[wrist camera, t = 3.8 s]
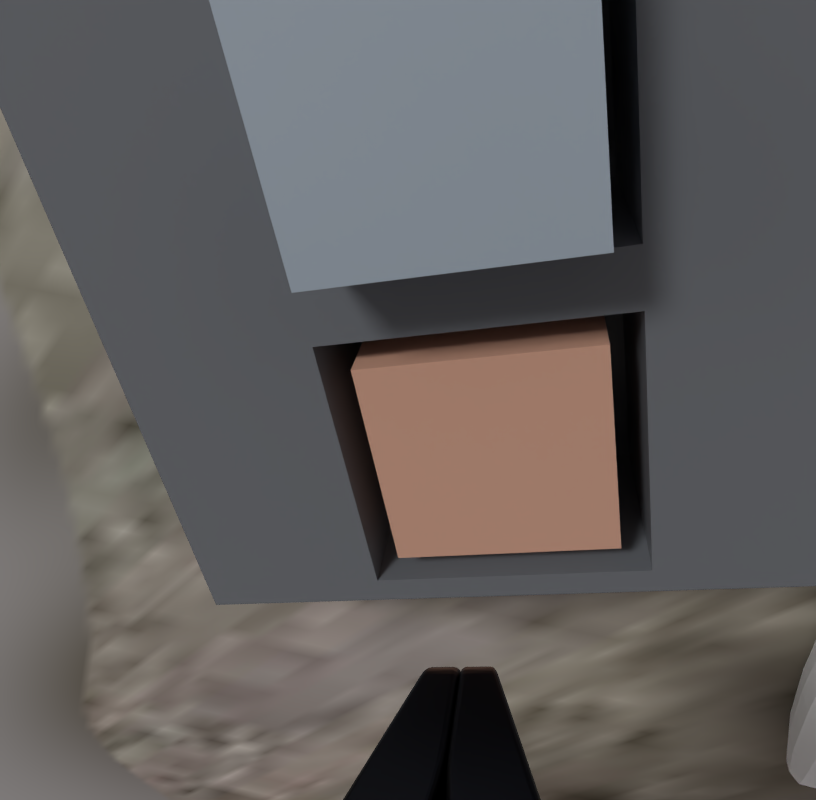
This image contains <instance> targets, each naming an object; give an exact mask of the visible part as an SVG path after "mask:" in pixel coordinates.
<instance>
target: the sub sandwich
mask: <svg viewBox="0 0 816 800" xmlns="http://www.w3.org/2000/svg"><path fill="white" fill-rule="evenodd" d="M786 761H787V765H788V769H789V772H790V773H791V775H792V776H793V777H794V778H795V780H796V781H797V782H798V784H801V785H805V786H808V787H812V788H816V641H815V643H814V646H813V648H812V650H811V652H810V655H809V657H808V659H807V661H806V664H805V666H804V668H803V671H802V675H801V678H800V681H799V685H798V688H797V692H796V695H795V698H794V702H793V705H792V709H791V712H790V722H789V733H788V744H787V757H786Z"/></svg>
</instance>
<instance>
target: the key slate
mask: <svg viewBox="0 0 816 800" xmlns="http://www.w3.org/2000/svg"><path fill="white" fill-rule="evenodd" d="M209 2H210V6H211V9H212V13H213V16H214V20H215V23H216V27H217V31H218V34H219V38H220V41H221V45H222V48H223V52H224V55H225V59H226V62H227V66H228V69H229V73H230V77H231V80H232V84H233V87H234V91H235V94H236V98H237V101H238V105H239V108H240V112H241V115H242V119H243V123H244V126H245V130H246V133H247V137H248V140H249V144H250V147H251V151H252V154H253V158H254V161H255V165H256V169H257V172H258V176H259V179H260V183H261V186H262V190H263V193H264V197H265V200H266V204H267V208H268V211H269V215H270V218H271V222H272V225H273V229H274V232H275V236H276V239H277V243H278V246H279V250H280V254H281V257H282V261H283V264H284V268H285V271H286V275H287V278H288V282H289V285H290V289H291V292H292V293H295V292H303V291H311V290H319V289H327V288H335V287H343V286H351V285H359V284H367V283H375V282H383V281H391V280H399V279H407V278H415V277H423V276H431V275H439V274H447V273H455V272H463V271H471V270H479V269H487V268H495V267H503V266H511V265H519V264H527V263H535V262H543V261H551V260H559V259H567V258H575V257H583V256H590V255H598V254H606V253H614V245H613V225H612V205H611V184H610V164H609V144H608V123H607V103H606V83H605V62H604V42H603V22H602V1H601V0H209Z"/></svg>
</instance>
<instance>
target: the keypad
mask: <svg viewBox="0 0 816 800" xmlns="http://www.w3.org/2000/svg"><path fill="white" fill-rule="evenodd" d="M601 1H602V22H603V42H604V62H605V83H606V103H607V123H608V144H609V164H610V184H611V205H612V225H613V245H614V253H606V254H598V255H590V256H583V257H575V258H567V259H559V260H551V261H543V262H535V263H527V264H519V265H511V266H503V267H495V268H487V269H479V270H471V271H463V272H455V273H447V274H439V275H431V276H423V277H415V278H407V279H399V280H391V281H383V282H375V283H367V284H359V285H351V286H343V287H335V288H327V289H319V290H311V291H303V292H295V293H292V292H291V289H290V285H289V282H288V278H287V275H286V271H285V268H284V264H283V261H282V257H281V254H280V250H279V246H278V243H277V239H276V236H275V232H274V229H273V225H272V222H271V218H270V215H269V211H268V208H267V204H266V200H265V197H264V193H263V190H262V186H261V183H260V179H259V176H258V172H257V169H256V165H255V161H254V158H253V154H252V151H251V147H250V144H249V140H248V137H247V133H246V130H245V126H244V123H243V119H242V115H241V112H240V108H239V105H238V101H237V98H236V94H235V91H234V87H233V84H232V80H231V77H230V73H229V69H228V66H227V62H226V59H225V55H224V52H223V48H222V45H221V41H220V38H219V34H218V31H217V27H216V23H215V20H214V16H213V13H212V9H211V6H210V2H209V0H0V108H1V110H2V113H3V115H4V117H5V120H6V122H7V124H8V127H9V129H10V131H11V133H12V136H13V138H14V140H15V143H16V145H17V147H18V150H19V152H20V154H21V156H22V159H23V161H24V163H25V166H26V168H27V170H28V173H29V175H30V177H31V179H32V182H33V184H34V186H35V189H36V191H37V193H38V196H39V198H40V200H41V203H42V205H43V207H44V209H45V212H46V214H47V216H48V219H49V221H50V223H51V226H52V228H53V230H54V232H55V235H56V237H57V239H58V242H59V244H60V246H61V249H62V251H63V253H64V255H65V258H66V260H67V262H68V265H69V267H70V269H71V272H72V274H73V276H74V279H75V281H76V283H77V285H78V288H79V290H80V292H81V295H82V297H83V299H84V302H85V304H86V306H87V308H88V311H89V313H90V315H91V318H92V320H93V322H94V325H95V327H96V329H97V332H98V334H99V336H100V338H101V341H102V343H103V345H104V348H105V350H106V352H107V355H108V357H109V359H110V361H111V364H112V366H113V368H114V371H115V373H116V375H117V378H118V380H119V382H120V384H121V387H122V389H123V391H124V394H125V396H126V398H127V401H128V403H129V405H130V408H131V410H132V412H133V414H134V417H135V419H136V421H137V424H138V426H139V428H140V431H141V433H142V435H143V437H144V440H145V442H146V444H147V447H148V449H149V451H150V454H151V456H152V458H153V460H154V463H155V465H156V467H157V470H158V472H159V474H160V477H161V479H162V481H163V484H164V486H165V488H166V490H167V493H168V495H169V497H170V500H171V502H172V504H173V507H174V509H175V511H176V513H177V516H178V518H179V520H180V523H181V525H182V527H183V530H184V532H185V534H186V536H187V539H188V541H189V543H190V546H191V548H192V550H193V553H194V555H195V557H196V560H197V562H198V564H199V566H200V569H201V571H202V573H203V576H204V578H205V580H206V583H207V585H208V587H209V589H210V592H211V594H212V596H213V599H214V601H215V603H216V605H224V604H256V603H288V602H320V601H352V600H384V599H416V598H448V597H480V596H512V595H544V594H576V593H608V592H640V591H672V590H704V589H736V588H768V587H800V586H816V0H601ZM595 316H604V317H605V322H606V327H607V332H608V337H609V342H610V353H611V371H612V389H613V407H614V425H615V443H616V461H617V479H618V497H619V515H620V533H621V548H619V549H596V550H573V551H550V552H527V553H504V554H481V555H457V556H434V557H411V558H398V555H397V551H396V547H395V543H394V539H393V535H392V531H391V527H390V523H389V519H388V515H387V511H386V507H385V504H384V500H383V496H382V492H381V488H380V484H379V480H378V476H377V472H376V468H375V464H374V460H373V456H372V452H371V448H370V444H369V441H368V437H367V433H366V429H365V425H364V421H363V417H362V413H361V409H360V405H359V401H358V397H357V393H356V389H355V385H354V382H353V378H352V374H351V368H352V366H353V364H354V361H355V359H356V356H357V354H358V352H359V349H360V347H361V344H362V342H364V341H373V340H382V339H392V338H401V337H410V336H419V335H429V334H438V333H447V332H456V331H466V330H475V329H484V328H494V327H503V326H512V325H521V324H531V323H540V322H549V321H558V320H568V319H577V318H586V317H595Z"/></svg>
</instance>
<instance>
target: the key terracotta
mask: <svg viewBox="0 0 816 800" xmlns="http://www.w3.org/2000/svg"><path fill="white" fill-rule="evenodd" d="M351 374H352V378H353V382H354V385H355V389H356V393H357V397H358V401H359V405H360V409H361V413H362V417H363V421H364V425H365V429H366V433H367V437H368V441H369V444H370V448H371V452H372V456H373V460H374V464H375V468H376V472H377V476H378V480H379V484H380V488H381V492H382V496H383V500H384V504H385V507H386V511H387V515H388V519H389V523H390V527H391V531H392V535H393V539H394V543H395V547H396V551H397V555H398V558H411V557H434V556H457V555H481V554H504V553H527V552H550V551H573V550H596V549H619V548H621V533H620V515H619V497H618V479H617V461H616V443H615V425H614V407H613V389H612V371H611V353H610V342H609V337H608V332H607V327H606V322H605V317H604V316H595V317H586V318H577V319H568V320H558V321H549V322H540V323H531V324H521V325H512V326H503V327H494V328H484V329H475V330H466V331H456V332H447V333H438V334H429V335H419V336H410V337H401V338H392V339H382V340H373V341H364V342H362V344H361V347H360V349H359V352H358V354H357V356H356V359H355V361H354V364H353V366H352V368H351Z"/></svg>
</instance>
